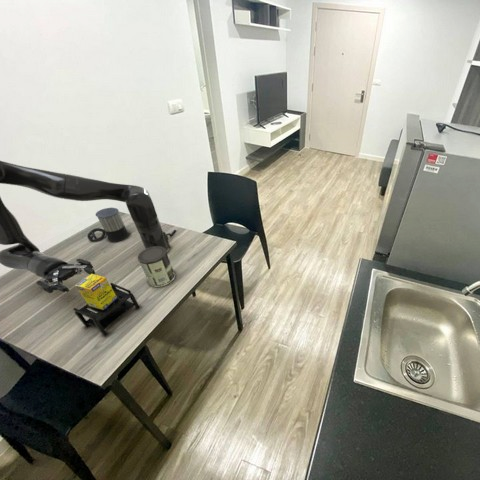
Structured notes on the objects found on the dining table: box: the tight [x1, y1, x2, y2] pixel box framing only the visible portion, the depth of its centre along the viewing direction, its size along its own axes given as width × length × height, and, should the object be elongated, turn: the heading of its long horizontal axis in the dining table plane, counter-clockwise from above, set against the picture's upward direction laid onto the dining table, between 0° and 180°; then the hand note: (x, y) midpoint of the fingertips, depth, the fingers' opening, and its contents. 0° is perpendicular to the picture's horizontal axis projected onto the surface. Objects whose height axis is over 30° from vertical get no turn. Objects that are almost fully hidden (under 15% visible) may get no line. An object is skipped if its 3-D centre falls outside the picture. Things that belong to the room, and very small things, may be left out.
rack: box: [72, 282, 141, 337], centre depth 94 cm, size 14×10×10 cm
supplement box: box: [74, 273, 118, 311], centre depth 89 cm, size 6×6×11 cm
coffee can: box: [136, 246, 176, 288], centre depth 110 cm, size 10×10×14 cm
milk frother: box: [86, 207, 130, 243], centre depth 129 cm, size 14×16×15 cm
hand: (80, 281), depth 89 cm, fingers open, 8 cm apart
